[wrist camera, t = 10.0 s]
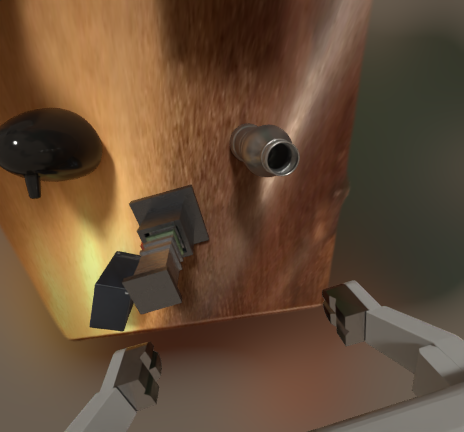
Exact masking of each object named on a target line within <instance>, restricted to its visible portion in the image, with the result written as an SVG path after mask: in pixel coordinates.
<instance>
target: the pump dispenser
mask: <svg viewBox="0 0 464 432" xmlns="http://www.w3.org/2000/svg"><path fill="white" fill-rule="evenodd" d="M101 157H102V145H101V141H100V138H99V136H98V134H97V133H96V131H95V130H94V128H93V127H92V126H91V125H90V124H89V123H88V122H87V121H86V120H85V119H84V118H82V117H81V116H79V115H78V114H76V113H74V112H71V111H69V110H65V109H60V108H42V109H36V110H31V111H27V112H24V113H21V114H19V115H17V116H15V117H13V118H11V119H9V120H8V121H6V122H5V123H4V124H2V125H1V126H0V166H1V167H2V168H3V169H5V170H6V171H8V172H10V173H12V174H14V175H17V176H20V177H23V178H25V182H26V185H27V189H28V193H29V197H30V198H32V199H38V198H40V197H41V182H40V181H48V182H58V181H68V180H73V179H78V178H81V177H84V176H86V175H88V174H90V173H91V172H93V171H94V170H95V169H96V168H97V166H98V165H99V163H100V161H101Z"/></svg>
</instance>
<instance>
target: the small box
mask: <svg viewBox="0 0 464 432" xmlns="http://www.w3.org/2000/svg"><path fill="white" fill-rule="evenodd" d="M140 259H141V256H140V255H135V254H130V253H126V252H119V251H117V252H116V253H115V255H114V256H113V258H112V259H111V261H110V262H109V264H108V265H107V267H106V269H105V270H104V272H103V273H102V275H101V276H100V278H99V279H98V281H97V282H96V284H95V288H94V297H93V305H92V312H91V319H90V327H92V328H99V329H108V330H116V331H124V329H125V326H126V323H127V320H128V317H129V314H130V312H131V309H132V306H133V304H134V302H133V301H132V299H131V297H130V296H129V294H128V292H127V290H126V289H125V287H124V285H123V284H122V282H123V279H124V278H126V277H130V276H133V275H134V273H135V271H136V268H137V266H138V263H139V261H140Z"/></svg>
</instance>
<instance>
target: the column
mask: <svg viewBox="0 0 464 432" xmlns="http://www.w3.org/2000/svg"><path fill="white" fill-rule="evenodd" d="M149 235H150V236H148V237H146V240H147V242H146V243H144V244H143V246H144V250H141V251H140V255H141V259H140V261H139V263H138V266H137V268H136V271H135V273H134V275H133V276H130V277H126V278H124V279H123V282H122V284H123V285H124V287H125V289H126V290H127V292H128V294H129V296H130V297H131V299H132V301H133V302H134V304H135V306H136V307H137V309H138V311H139V312H140V314H144V313H148V312H151V311H155V310H158V309H162V308H165V307H168V306H172V305H175V304H179V303H182V296H181V294H180V292H179V289H178V287H177V285H178V277H179V270H182V265H181V262H182V261H183V257H182V255H183V254H184V251H183V248H185V245H184V243H183V240H182V238H181V235H180V233H179V230H178V228H177V225H174V226H171V227H167V228H164V229H160V230H157V231H153V232H150V233H149Z"/></svg>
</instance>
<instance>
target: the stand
mask: <svg viewBox="0 0 464 432" xmlns="http://www.w3.org/2000/svg"><path fill="white" fill-rule="evenodd" d="M129 205H130V207H131V209H132V211H133V213H134V215H135V217H136V219H137V221H138V224H139V228H138V230H137V233H138V235H139V237H140V239H141V241H142V243H141V245H140V246H141V248H142V250H144V246H143V244H144V243H146V242H147V240H146V237H148V236H150V235H149V233H150V232H153V231H157V230H160V229H164V228H167V227H171V226H174V225H177V228H178V230H179V233H180V235H181V238H182V240H183V243H184V245H185V248H183V251H184V254H183V255H182V257H186V256H190V255H193V246H194V244H196V243H199V242H203V241H206V240H209V235H208V232H207V229H206V226H205V223H204V220H203V217H202V214H201V211H200V208H199V205H198V202H197V199H196V196H195V193H194V190H193V187H192V185H188V186H185V187H181V188H177V189H174V190H170V191H166V192H163V193H159V194H156V195H152V196H148V197H145V198H141V199H138V200H134V201H131V202H130V203H129Z"/></svg>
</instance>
